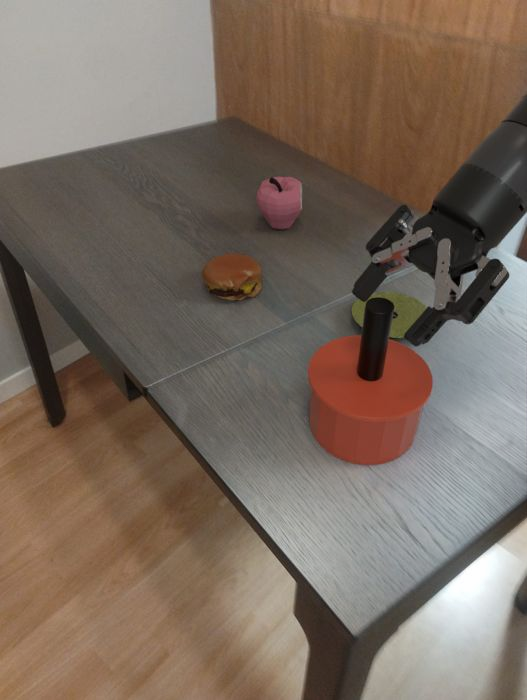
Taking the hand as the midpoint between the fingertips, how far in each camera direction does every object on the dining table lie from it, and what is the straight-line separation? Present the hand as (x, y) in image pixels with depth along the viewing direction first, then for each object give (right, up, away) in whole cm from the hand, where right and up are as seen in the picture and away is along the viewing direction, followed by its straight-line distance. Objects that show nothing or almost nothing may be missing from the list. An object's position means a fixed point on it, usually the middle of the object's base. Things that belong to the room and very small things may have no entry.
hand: (382, 318), depth 54 cm
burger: (-17, +7, +33) cm, 37 cm away
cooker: (0, -12, +10) cm, 15 cm away
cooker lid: (0, -6, +5) cm, 8 cm away
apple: (-9, +21, +49) cm, 54 cm away
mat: (+6, +1, +25) cm, 25 cm away
